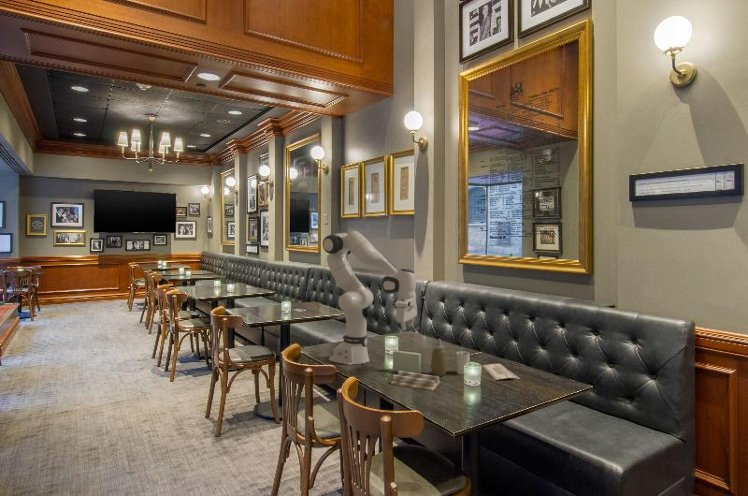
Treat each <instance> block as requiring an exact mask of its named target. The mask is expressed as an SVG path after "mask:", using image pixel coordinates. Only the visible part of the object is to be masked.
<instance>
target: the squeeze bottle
mask: <svg viewBox="0 0 748 496" xmlns="http://www.w3.org/2000/svg"><path fill="white" fill-rule="evenodd" d="M430 368H431V372H432V374H433V375H432V376H439V377H444V376H445V375H446V372H447V371H448V361H447V351H446V350H445V346H444V345H443V344H442V340H441V338H438V339H437V343H436V344H435V345H434V349H433V350H432V354H431V364H430Z"/></svg>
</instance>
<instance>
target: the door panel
mask: <svg viewBox="0 0 748 496" xmlns="http://www.w3.org/2000/svg"><path fill="white" fill-rule="evenodd" d="M392 371H393V372H397V373H398V371H405V372H412V373H419V374H422V353H418V352H412V351H404V350H396V349H394V351H392Z"/></svg>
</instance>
